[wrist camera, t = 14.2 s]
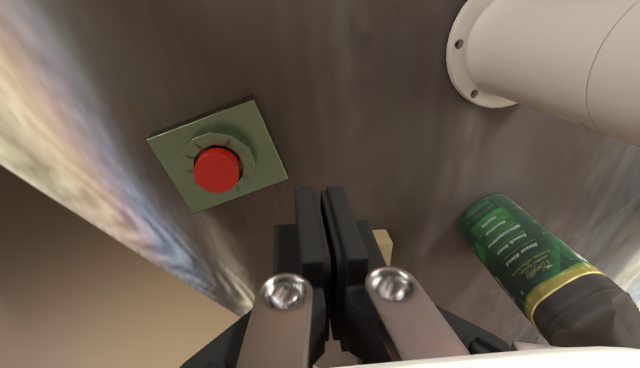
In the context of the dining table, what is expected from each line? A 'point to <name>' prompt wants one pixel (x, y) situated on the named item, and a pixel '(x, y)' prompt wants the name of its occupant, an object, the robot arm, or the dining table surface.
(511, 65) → the robot arm
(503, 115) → the dining table surface
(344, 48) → the dining table surface
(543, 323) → the coffee jar
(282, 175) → the button housing
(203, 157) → the red button
